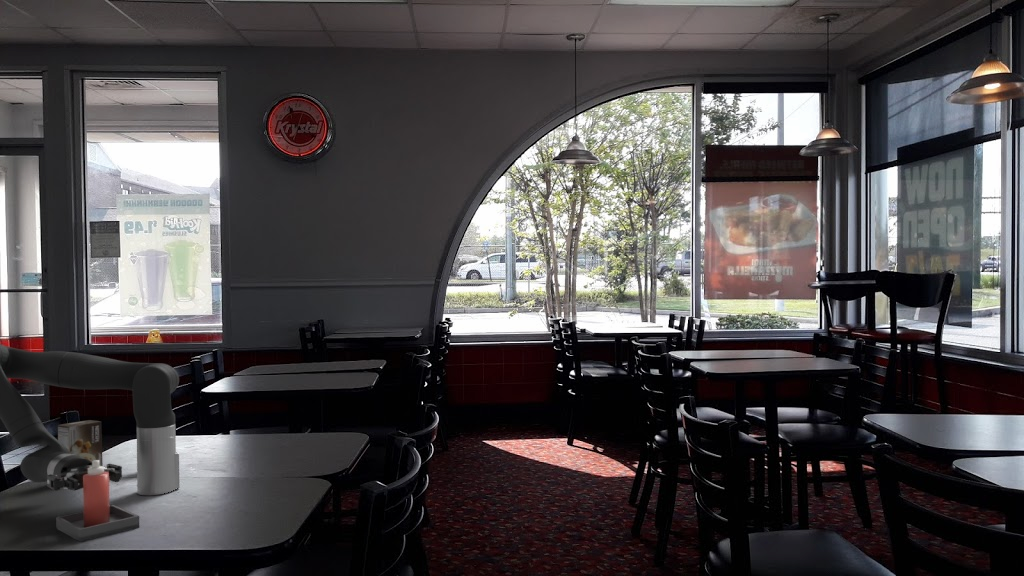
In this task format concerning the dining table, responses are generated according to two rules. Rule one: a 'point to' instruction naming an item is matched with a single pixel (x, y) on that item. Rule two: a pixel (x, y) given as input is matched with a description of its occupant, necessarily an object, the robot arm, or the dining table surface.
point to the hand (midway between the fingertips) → (97, 481)
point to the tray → (118, 523)
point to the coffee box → (82, 439)
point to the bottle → (96, 495)
